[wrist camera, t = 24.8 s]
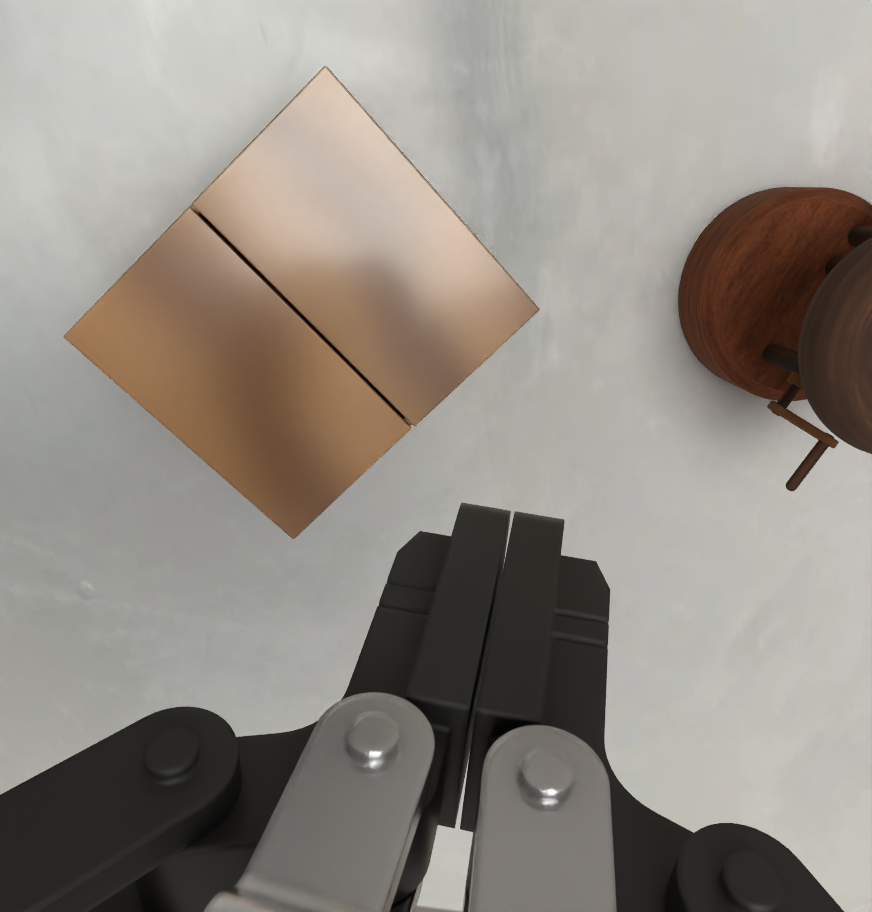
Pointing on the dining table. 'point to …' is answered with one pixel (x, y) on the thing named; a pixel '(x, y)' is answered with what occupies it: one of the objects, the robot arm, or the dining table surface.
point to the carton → (365, 249)
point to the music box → (789, 307)
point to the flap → (237, 375)
